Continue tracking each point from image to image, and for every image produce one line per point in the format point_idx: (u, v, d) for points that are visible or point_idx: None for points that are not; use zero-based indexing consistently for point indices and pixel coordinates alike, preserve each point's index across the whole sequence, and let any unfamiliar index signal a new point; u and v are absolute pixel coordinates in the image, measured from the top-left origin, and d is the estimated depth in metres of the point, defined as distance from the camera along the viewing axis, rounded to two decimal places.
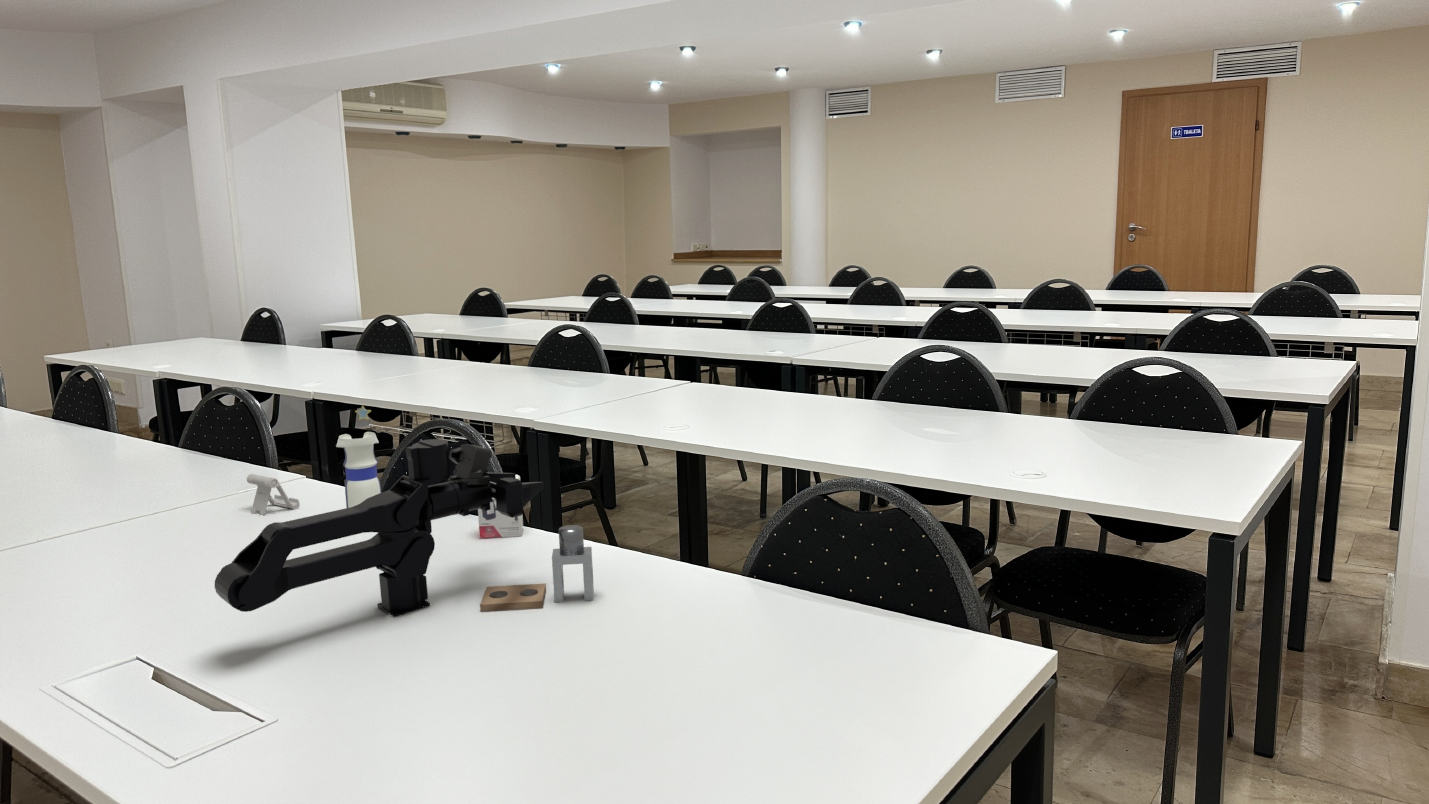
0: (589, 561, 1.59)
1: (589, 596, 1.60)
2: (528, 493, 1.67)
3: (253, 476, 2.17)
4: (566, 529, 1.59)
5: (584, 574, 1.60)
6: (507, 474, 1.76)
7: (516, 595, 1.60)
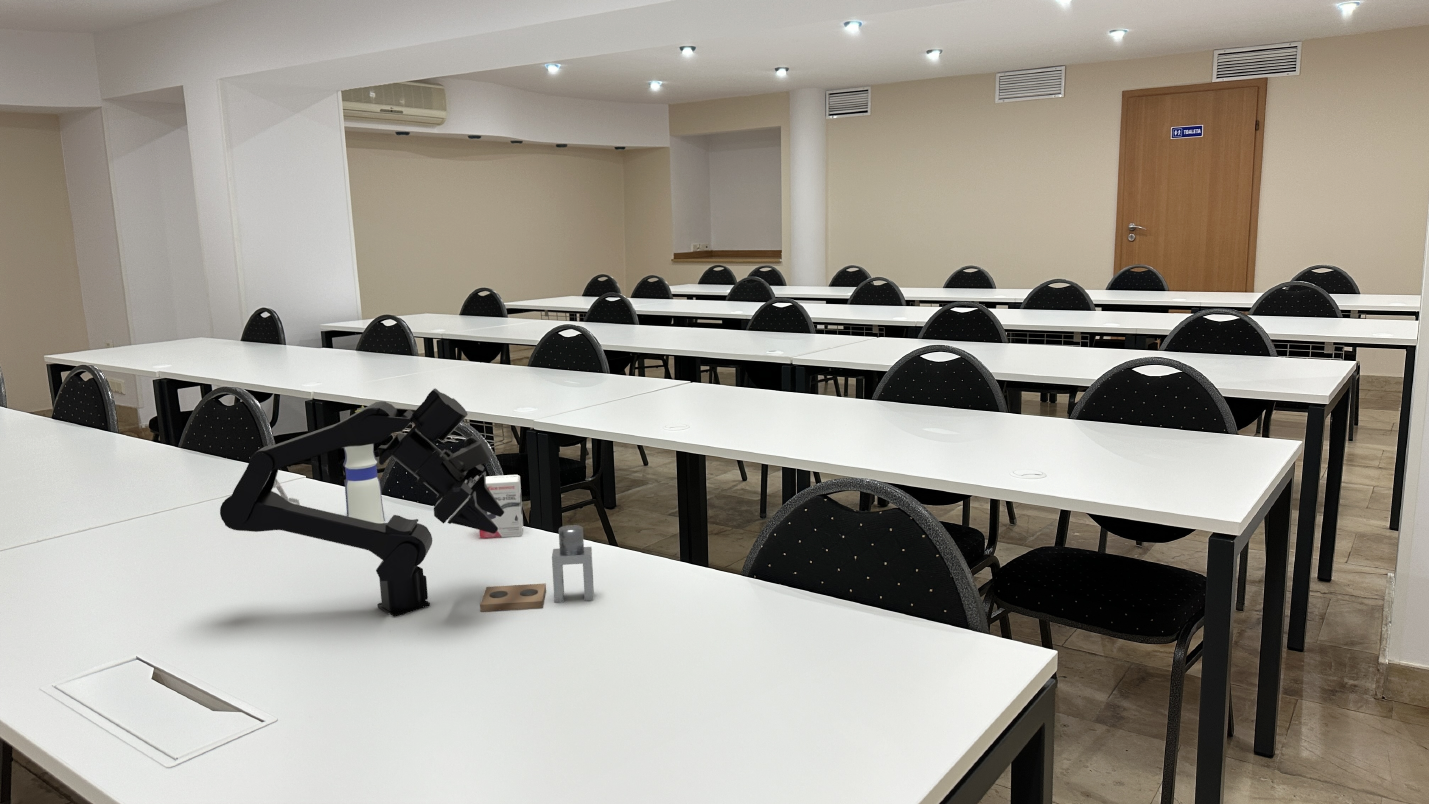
0: (589, 561, 1.59)
1: (589, 596, 1.60)
2: (474, 520, 1.52)
3: None
4: (566, 529, 1.59)
5: (584, 574, 1.60)
6: (497, 505, 1.63)
7: (516, 595, 1.60)
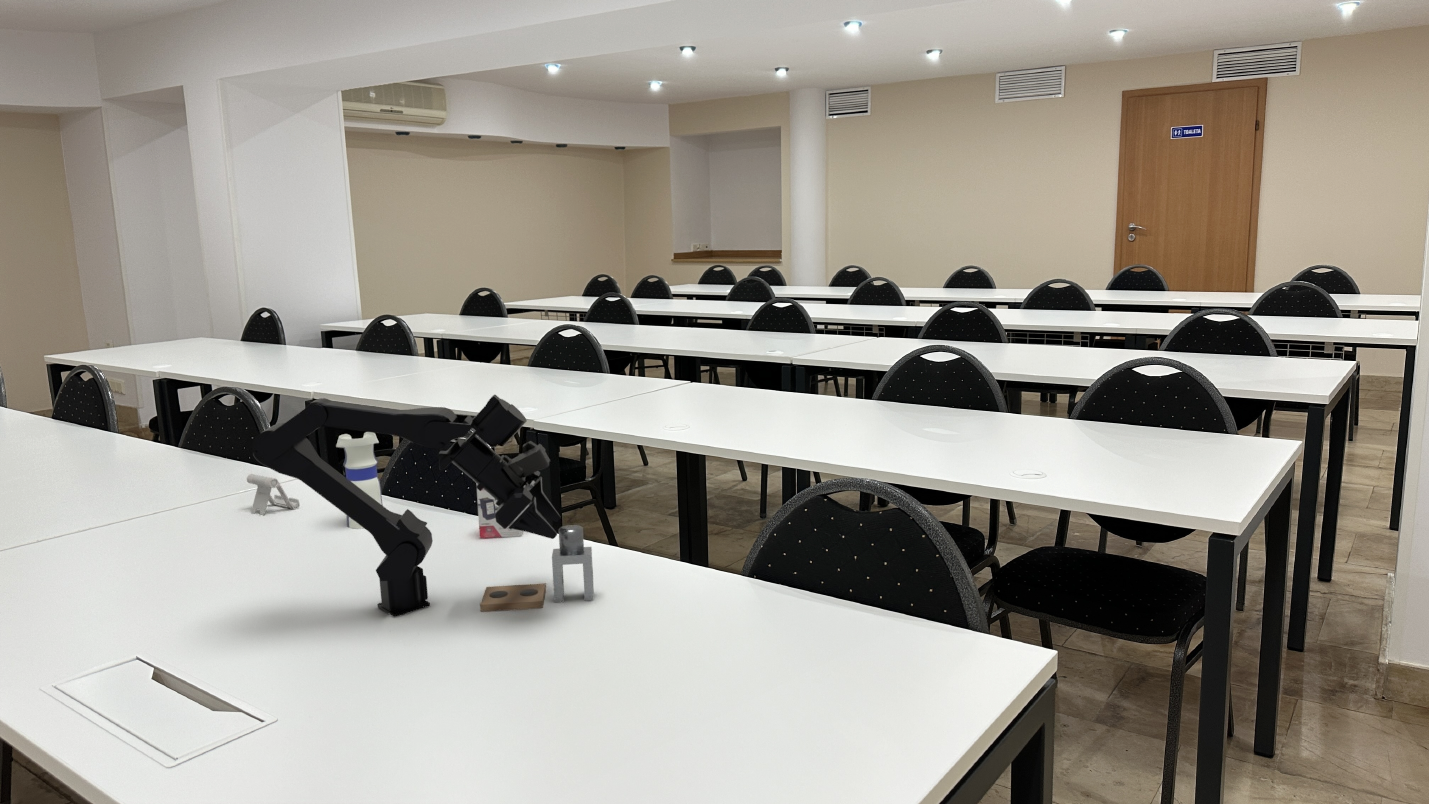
0: (589, 561, 1.59)
1: (589, 596, 1.60)
2: (534, 525, 1.53)
3: (253, 476, 2.17)
4: (566, 529, 1.59)
5: (584, 574, 1.60)
6: (554, 511, 1.64)
7: (516, 595, 1.60)
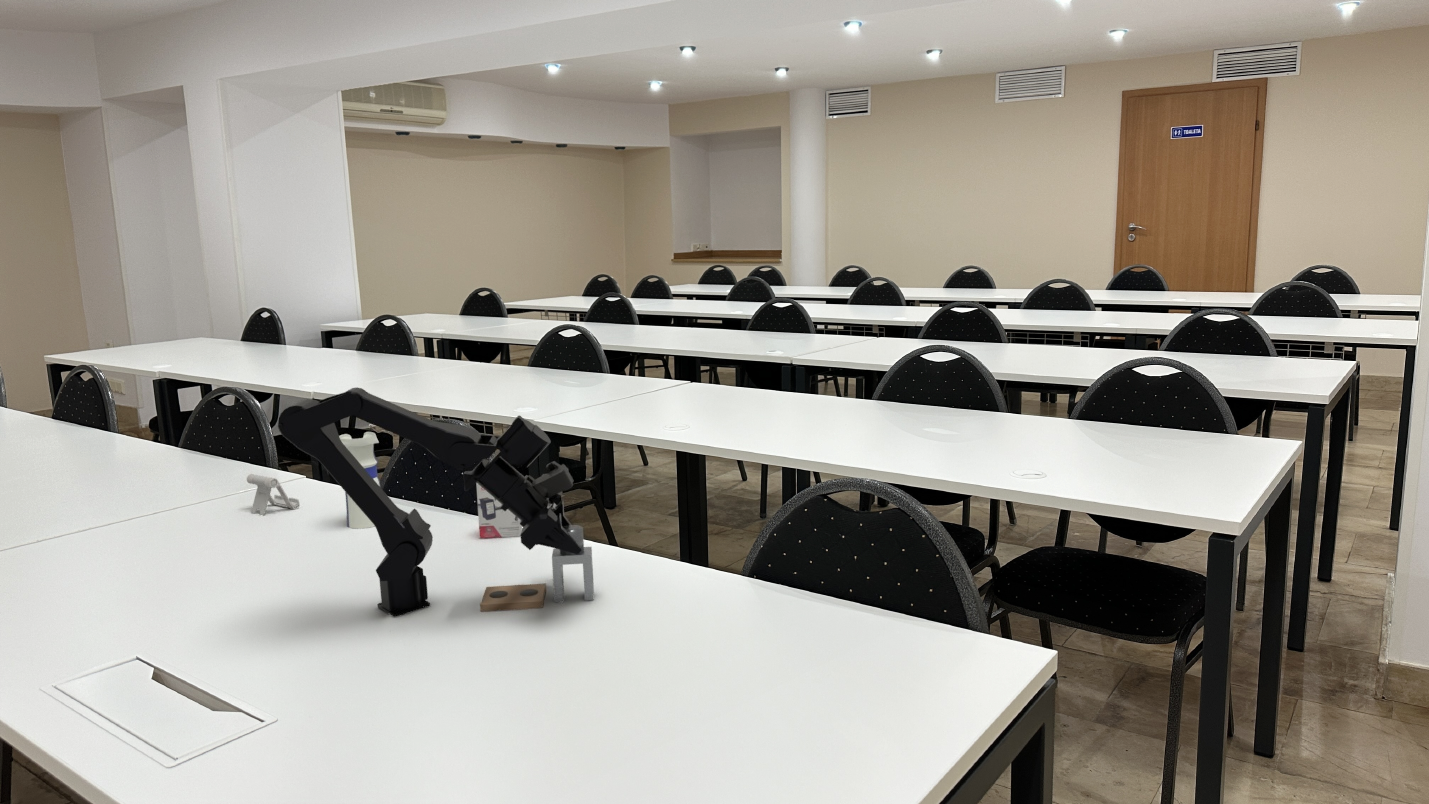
0: (589, 561, 1.59)
1: (589, 596, 1.60)
2: (559, 541, 1.57)
3: (253, 476, 2.17)
4: (566, 529, 1.59)
5: (584, 574, 1.60)
6: None
7: (516, 595, 1.60)
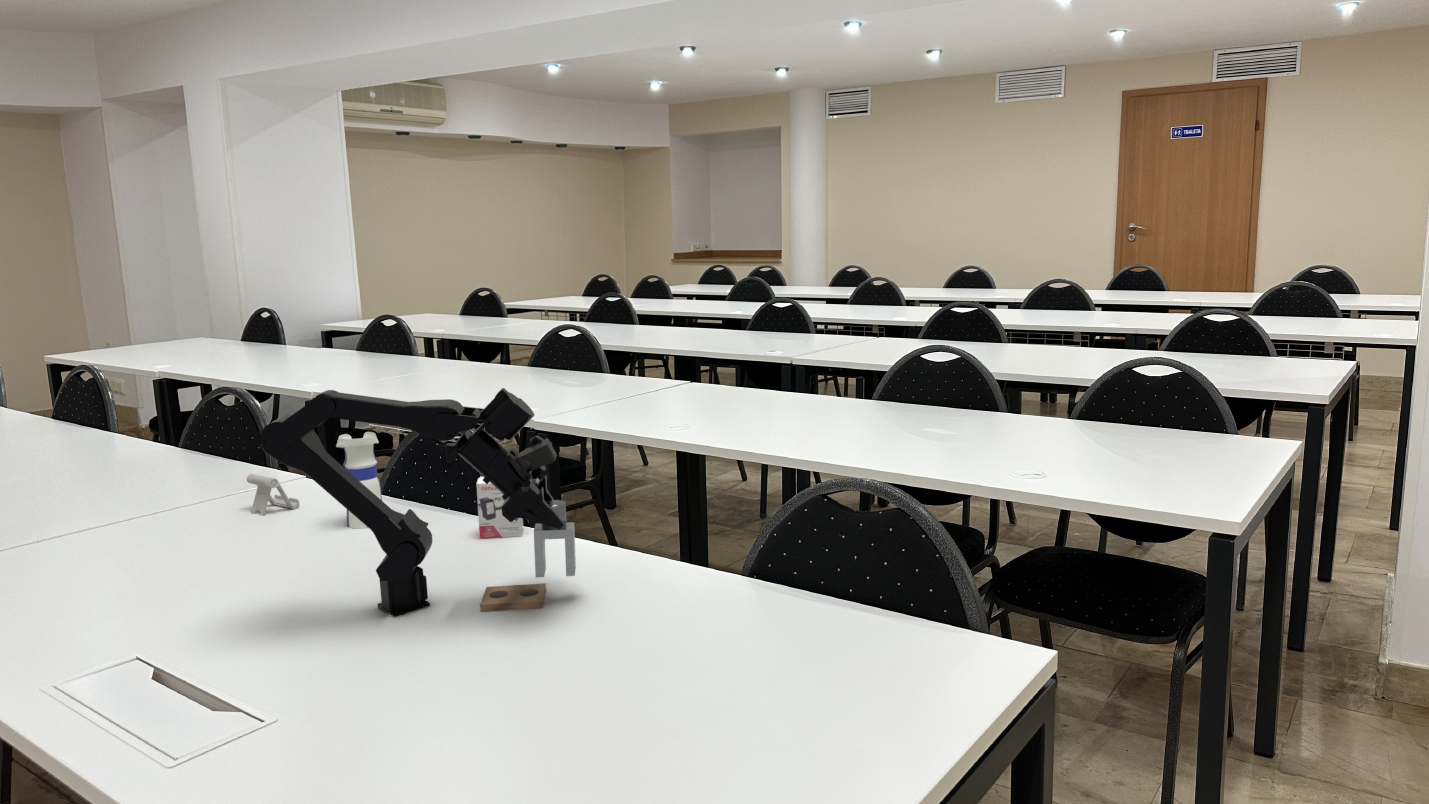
0: (571, 536, 1.58)
1: (571, 571, 1.59)
2: (541, 515, 1.56)
3: (253, 476, 2.17)
4: (548, 504, 1.58)
5: (566, 549, 1.59)
6: None
7: (516, 595, 1.60)
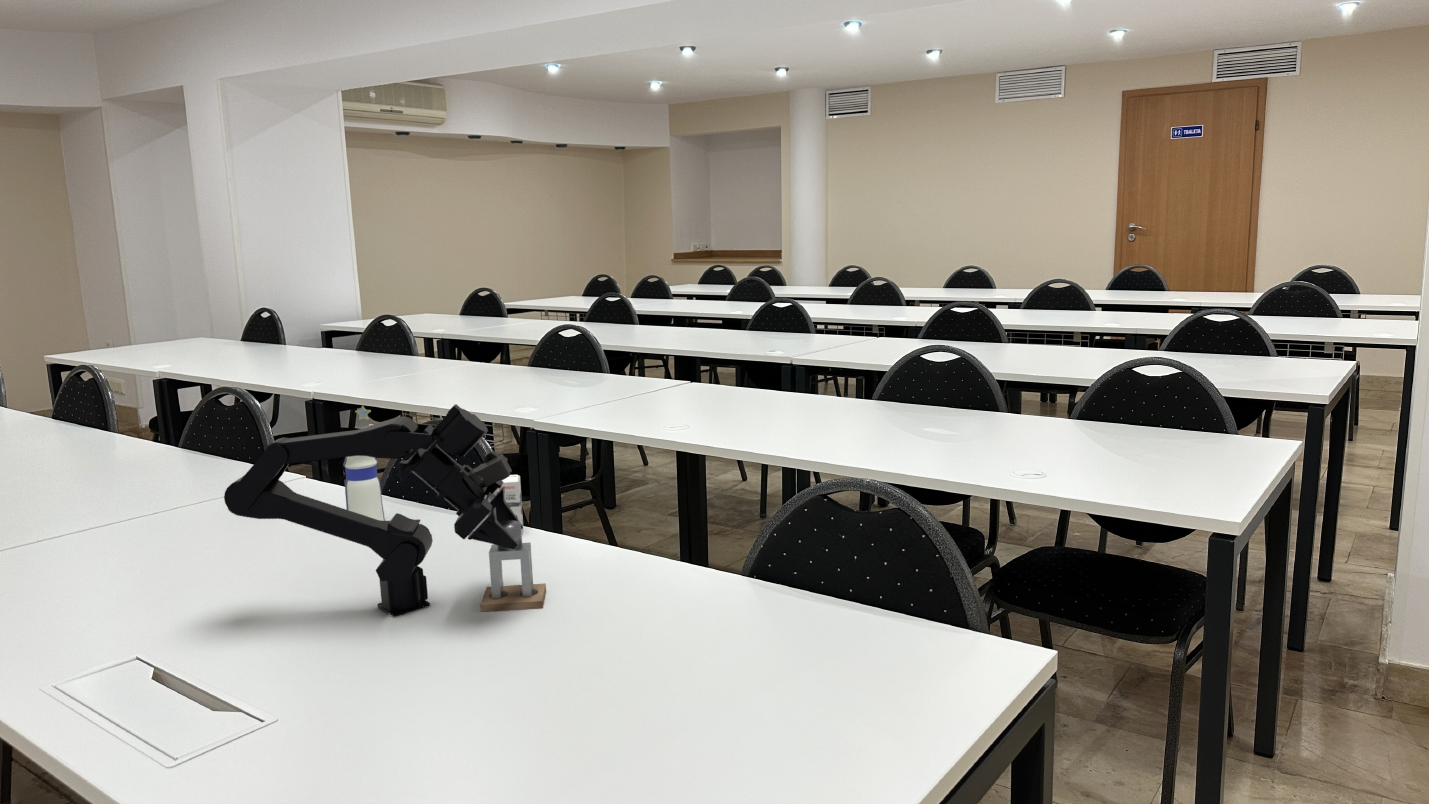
0: (527, 557, 1.58)
1: (527, 592, 1.59)
2: (494, 536, 1.53)
3: None
4: (503, 525, 1.58)
5: (522, 570, 1.58)
6: (516, 520, 1.64)
7: (516, 595, 1.60)
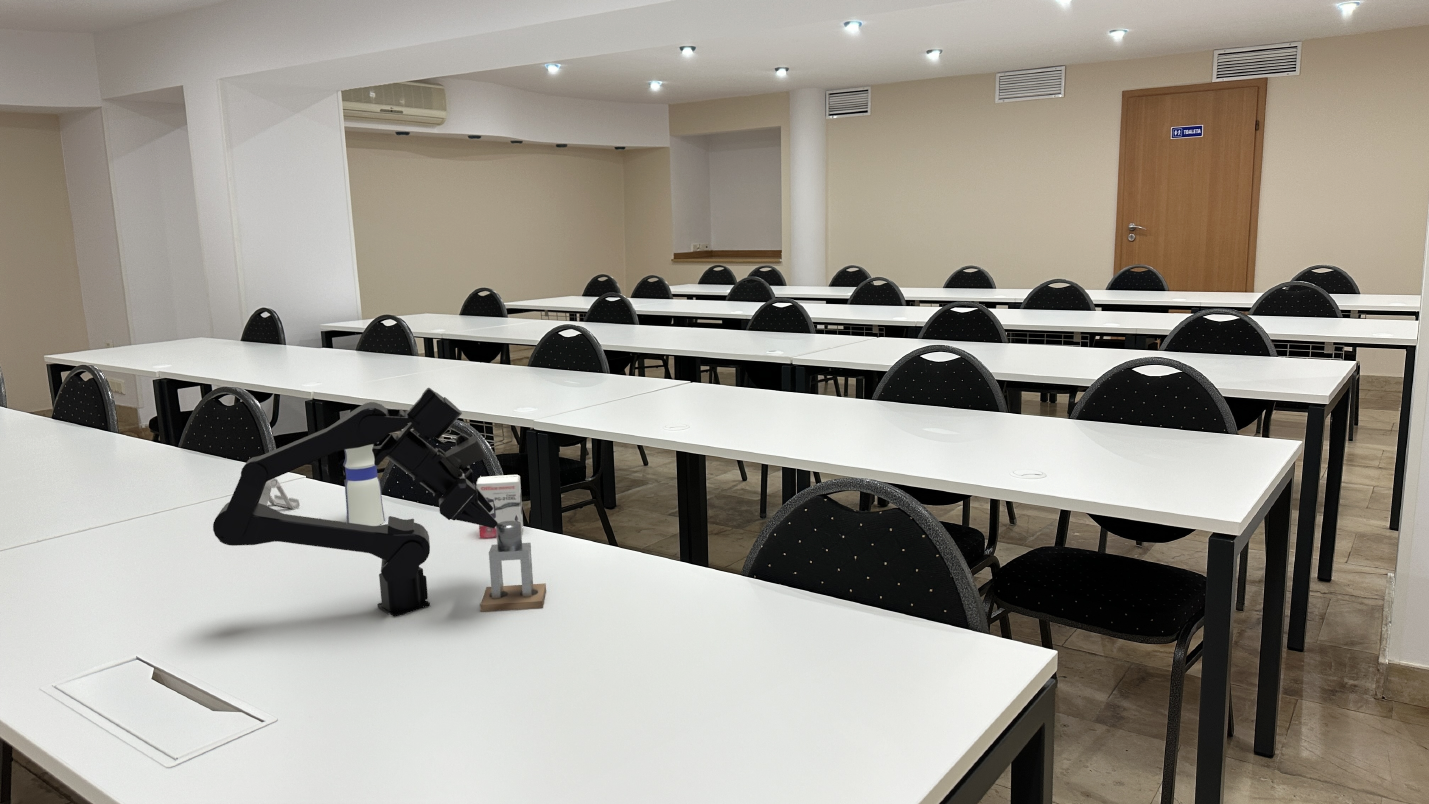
0: (527, 557, 1.58)
1: (527, 592, 1.59)
2: (476, 516, 1.55)
3: None
4: (503, 525, 1.58)
5: (522, 570, 1.58)
6: (487, 502, 1.65)
7: (516, 595, 1.60)
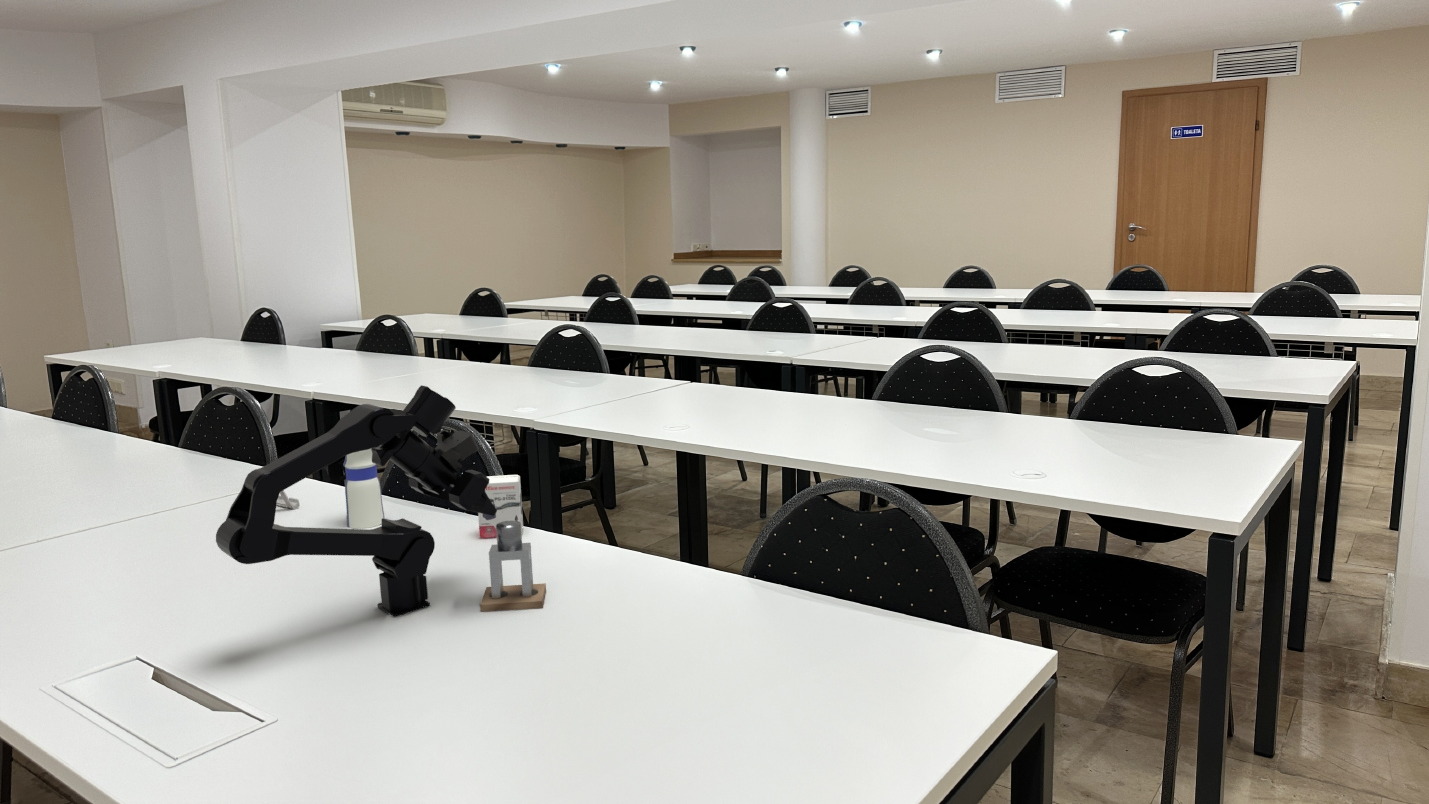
0: (527, 557, 1.58)
1: (527, 592, 1.59)
2: (481, 505, 1.61)
3: None
4: (503, 525, 1.58)
5: (522, 570, 1.58)
6: None
7: (516, 595, 1.60)
